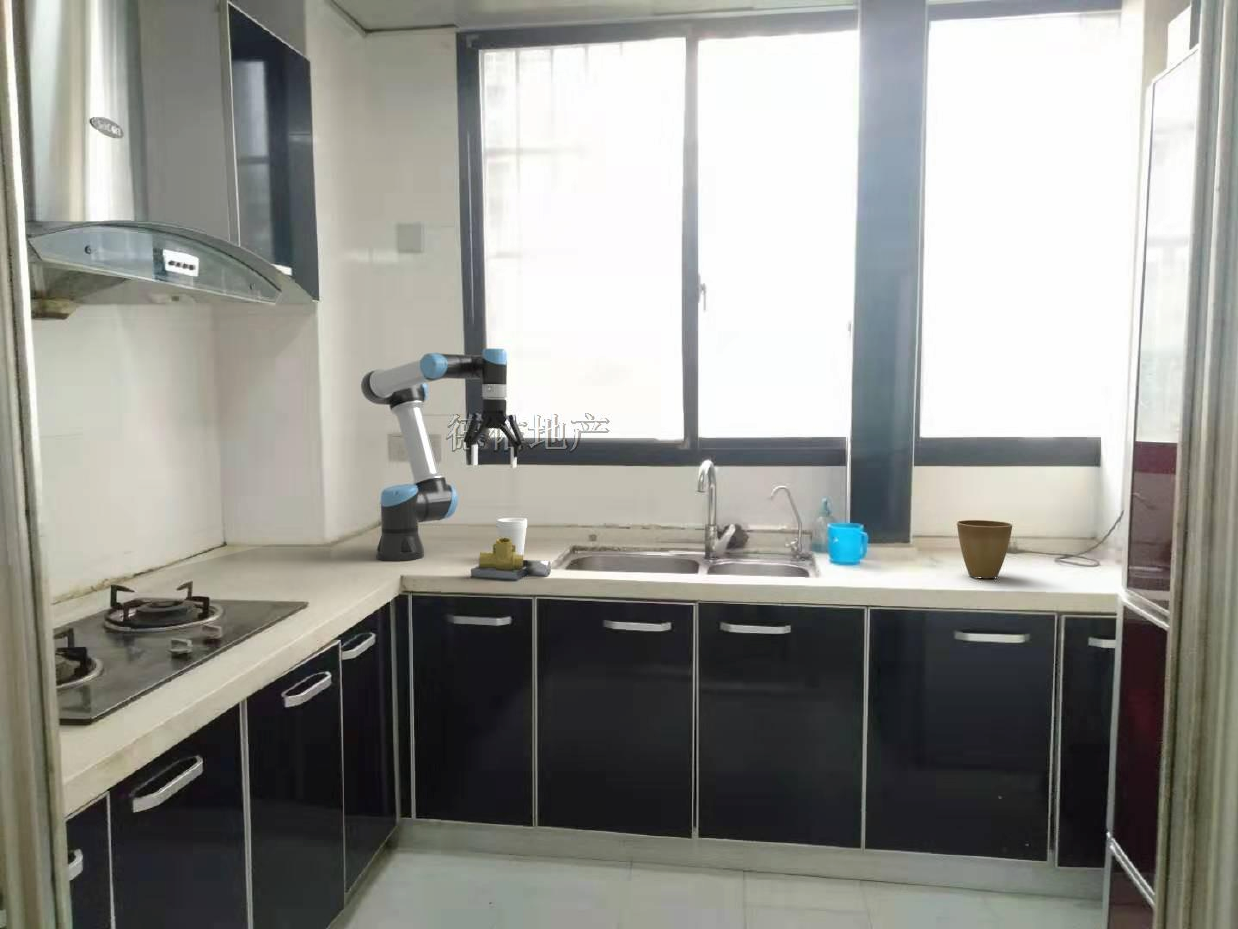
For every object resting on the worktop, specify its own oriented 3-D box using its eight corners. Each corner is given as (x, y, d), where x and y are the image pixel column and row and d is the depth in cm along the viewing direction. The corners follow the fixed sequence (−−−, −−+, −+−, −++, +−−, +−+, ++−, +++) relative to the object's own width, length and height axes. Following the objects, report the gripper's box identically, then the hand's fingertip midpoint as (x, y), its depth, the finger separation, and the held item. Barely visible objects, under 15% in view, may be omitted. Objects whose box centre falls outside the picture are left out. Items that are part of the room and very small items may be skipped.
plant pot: (1018, 577, 245) (1020, 522, 244) (998, 585, 234) (1000, 528, 233) (967, 569, 255) (969, 517, 254) (946, 576, 245) (948, 522, 244)
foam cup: (530, 561, 267) (530, 521, 266) (502, 563, 264) (501, 522, 263) (522, 556, 276) (522, 517, 275) (495, 558, 273) (494, 518, 272)
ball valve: (521, 577, 245) (523, 564, 254) (524, 544, 242) (525, 532, 251) (478, 574, 243) (481, 561, 253) (480, 541, 241) (483, 529, 250)
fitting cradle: (471, 577, 243) (470, 562, 243) (497, 565, 260) (497, 552, 260) (536, 582, 237) (536, 567, 237) (559, 570, 254) (559, 555, 254)
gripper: (452, 397, 260) (452, 465, 262) (525, 399, 252) (525, 469, 254) (464, 397, 267) (464, 463, 269) (536, 399, 259) (535, 467, 262)
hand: (493, 466), depth 262 cm, fingers open, 13 cm apart
